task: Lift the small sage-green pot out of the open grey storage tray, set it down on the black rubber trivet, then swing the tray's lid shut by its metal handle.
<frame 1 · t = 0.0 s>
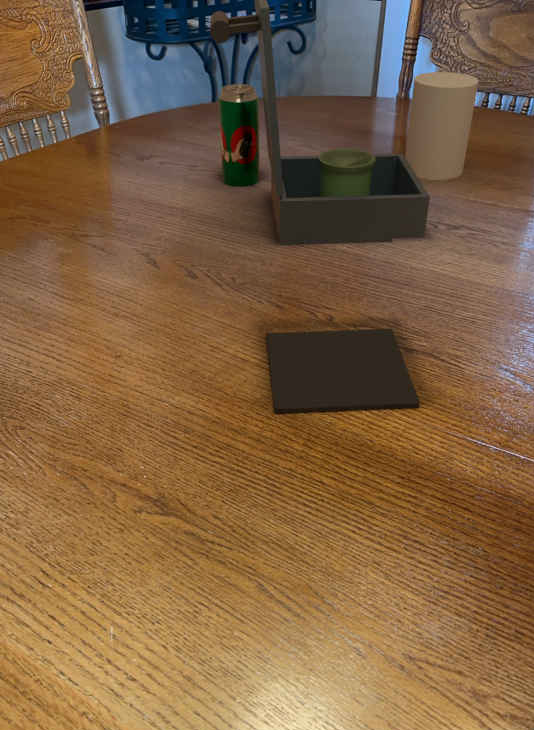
trivet: (337, 370, 62), on the table
pot: (342, 217, 85), point 1 cm above the table, touching grey storage tray
grey storage tray: (342, 223, 86), on the table
beige cylinder: (431, 176, 99), on the table
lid: (245, 93, 76), point 15 cm above the table, hinge at 95.0°
soda can: (241, 187, 96), on the table
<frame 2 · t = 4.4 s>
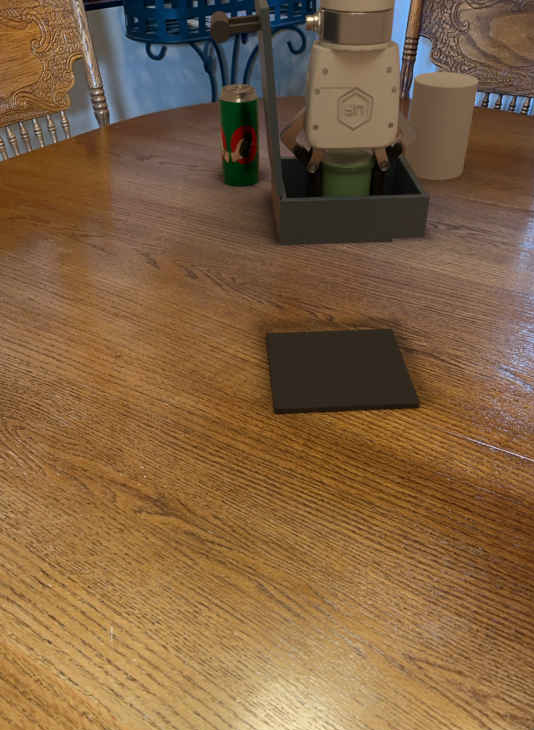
hand: (344, 201, 84), 3 cm above the table, tool pointing down, fingers closed on pot, 6 cm apart
pot: (342, 217, 85), point 1 cm above the table, touching gripper, grey storage tray
everything else where it was.
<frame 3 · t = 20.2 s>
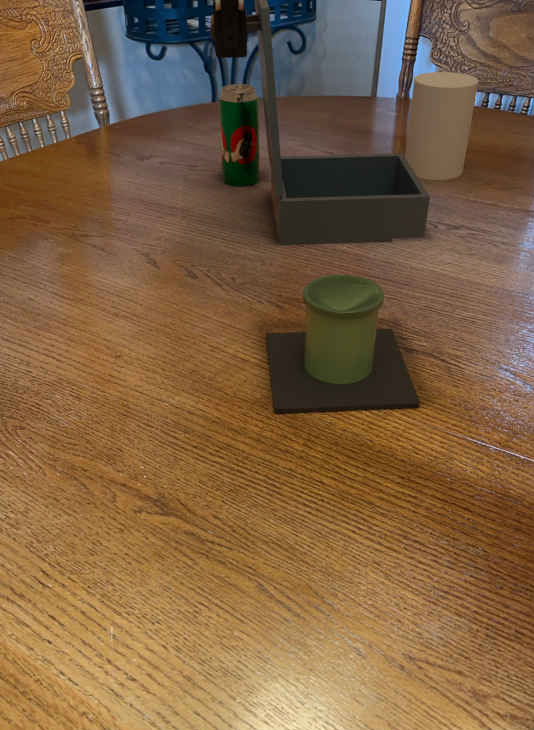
hand: (230, 48, 73), 19 cm above the table, tool pointing down, fingers closed on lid, 5 cm apart
pot: (338, 365, 62), resting on trivet
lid: (245, 93, 76), point 15 cm above the table, hinge at 95.0°, touching gripper
everything else where it was.
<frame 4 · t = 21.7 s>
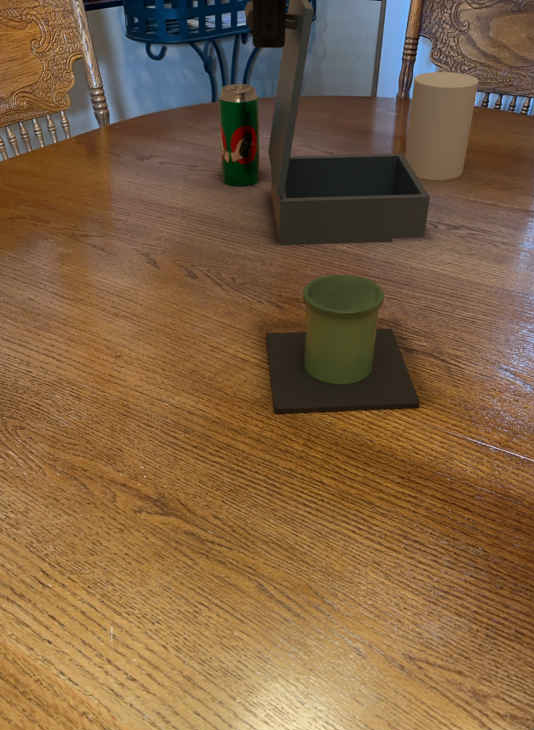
hand: (266, 38, 72), 20 cm above the table, tool pointing down, fingers closed on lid, 5 cm apart
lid: (264, 87, 75), point 15 cm above the table, hinge at 81.2°, touching gripper
everything else where it was.
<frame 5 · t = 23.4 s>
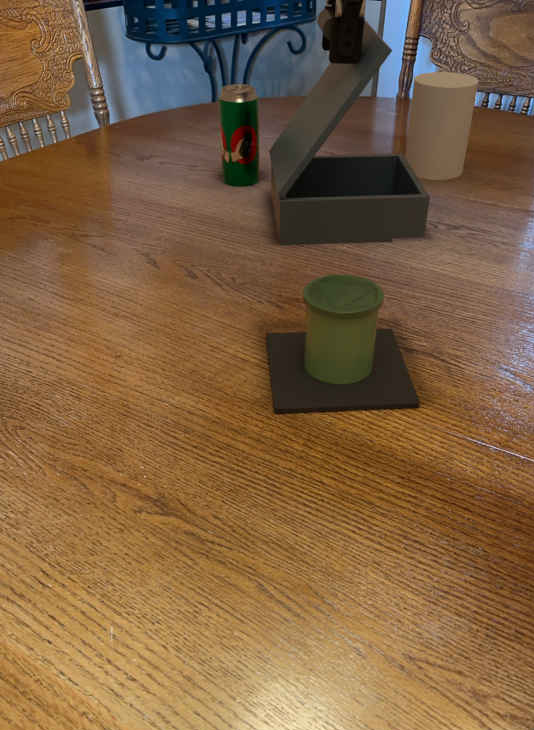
hand: (340, 54, 74), 18 cm above the table, tool pointing down, fingers closed on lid, 5 cm apart
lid: (305, 92, 76), point 15 cm above the table, hinge at 52.9°, touching gripper
everything else where it was.
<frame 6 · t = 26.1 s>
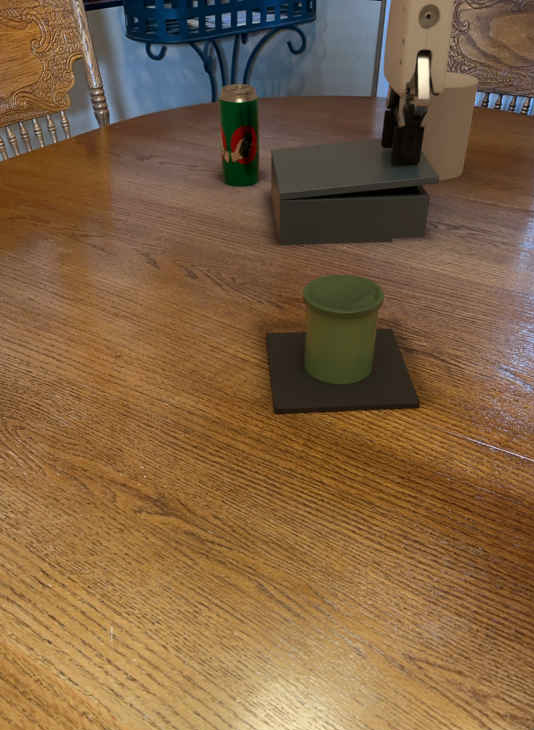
hand: (399, 153, 81), 8 cm above the table, tool pointing down, fingers closed on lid, 5 cm apart
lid: (349, 142, 80), point 9 cm above the table, hinge at 4.3°, touching gripper
everything else where it was.
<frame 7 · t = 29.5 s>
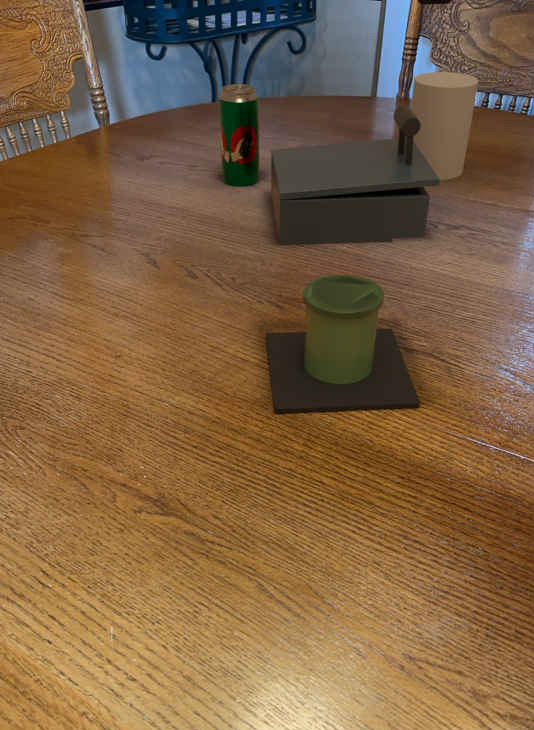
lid: (349, 143, 80), point 9 cm above the table, hinge at 3.6°
everything else where it was.
at the end: pot inside the target area on the trivet (0.0 cm from its centre), point 0.5 cm above the trivet's base; pot tilted 0°; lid at +4° (first picture: +95°) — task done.
